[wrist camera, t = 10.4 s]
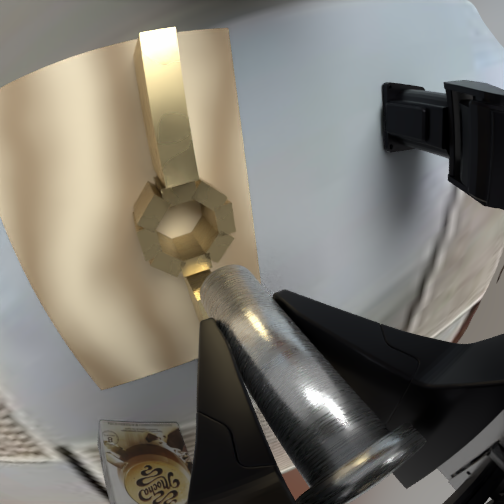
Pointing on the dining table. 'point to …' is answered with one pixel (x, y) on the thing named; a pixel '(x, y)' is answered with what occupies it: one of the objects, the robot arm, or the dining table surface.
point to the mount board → (115, 200)
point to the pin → (304, 394)
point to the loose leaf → (197, 292)
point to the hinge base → (174, 166)
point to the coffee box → (144, 462)
